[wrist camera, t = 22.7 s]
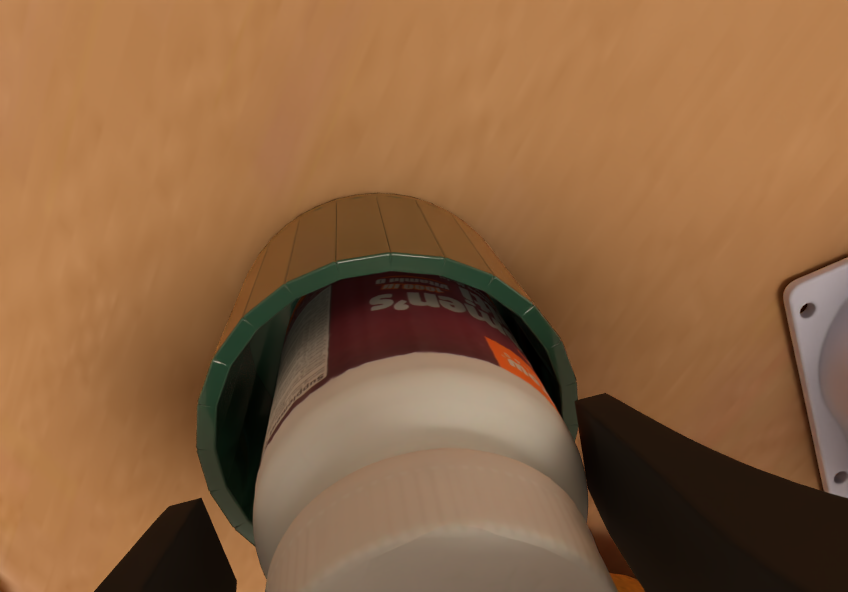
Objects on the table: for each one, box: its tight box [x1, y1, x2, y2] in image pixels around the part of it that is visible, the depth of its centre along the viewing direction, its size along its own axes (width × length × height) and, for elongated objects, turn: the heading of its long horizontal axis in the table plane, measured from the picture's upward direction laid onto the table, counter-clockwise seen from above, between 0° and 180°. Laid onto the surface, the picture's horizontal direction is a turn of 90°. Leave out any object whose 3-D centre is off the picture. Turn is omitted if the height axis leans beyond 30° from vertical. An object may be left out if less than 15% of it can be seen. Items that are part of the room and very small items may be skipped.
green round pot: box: [196, 193, 578, 546], centre depth 17 cm, size 8×8×6 cm
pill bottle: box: [253, 271, 618, 592], centre depth 14 cm, size 6×6×11 cm
